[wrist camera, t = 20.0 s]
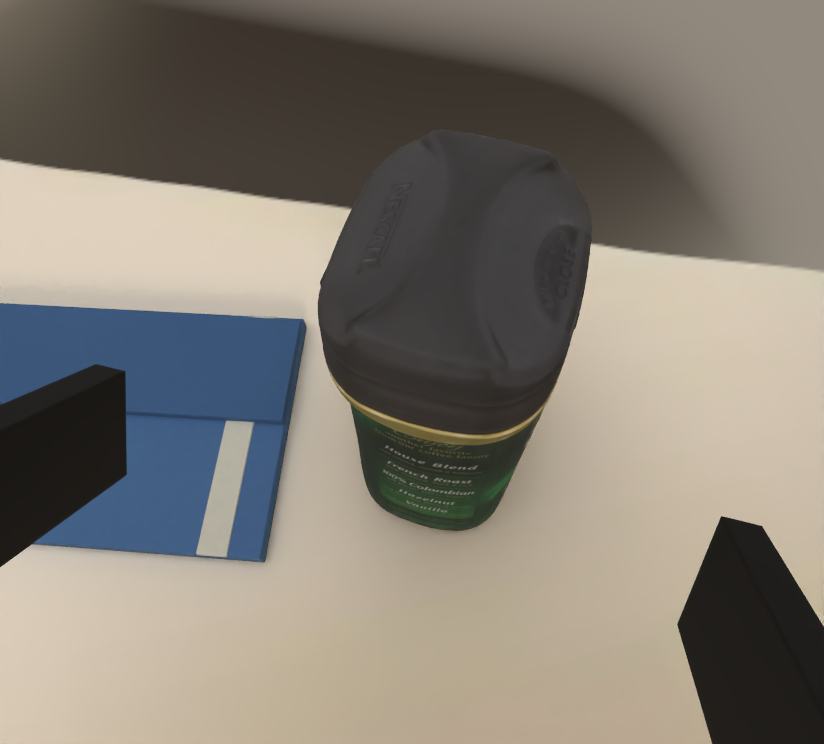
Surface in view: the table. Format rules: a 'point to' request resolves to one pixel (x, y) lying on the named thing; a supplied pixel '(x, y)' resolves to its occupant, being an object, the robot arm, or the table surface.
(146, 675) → the table surface
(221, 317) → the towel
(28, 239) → the table surface
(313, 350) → the table surface
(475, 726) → the table surface
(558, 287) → the coffee jar
